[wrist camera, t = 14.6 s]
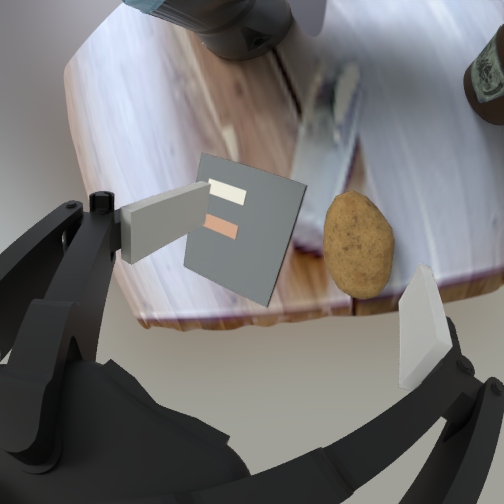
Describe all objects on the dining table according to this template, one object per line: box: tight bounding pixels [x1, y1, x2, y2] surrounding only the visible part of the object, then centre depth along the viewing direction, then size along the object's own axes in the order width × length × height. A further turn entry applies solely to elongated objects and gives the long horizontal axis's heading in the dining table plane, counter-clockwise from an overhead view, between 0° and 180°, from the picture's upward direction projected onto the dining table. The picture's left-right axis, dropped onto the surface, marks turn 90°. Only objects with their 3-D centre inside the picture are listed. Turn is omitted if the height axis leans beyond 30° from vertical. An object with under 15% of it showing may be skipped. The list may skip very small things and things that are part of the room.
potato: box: [323, 191, 394, 299], centre depth 34 cm, size 10×14×8 cm
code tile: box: [184, 153, 306, 307], centre depth 46 cm, size 22×18×1 cm
